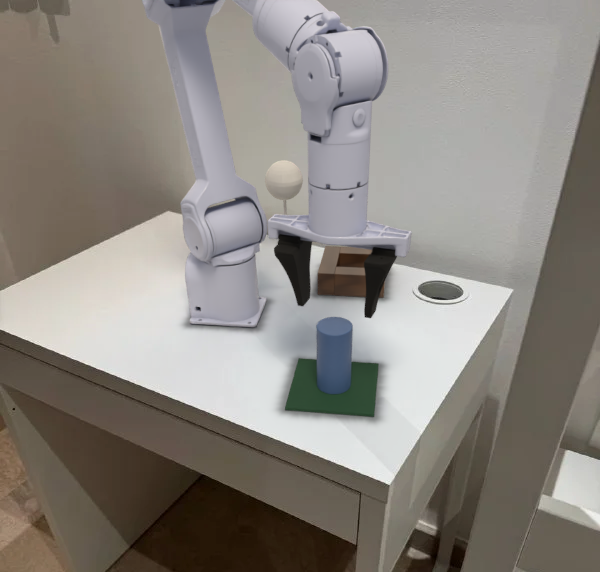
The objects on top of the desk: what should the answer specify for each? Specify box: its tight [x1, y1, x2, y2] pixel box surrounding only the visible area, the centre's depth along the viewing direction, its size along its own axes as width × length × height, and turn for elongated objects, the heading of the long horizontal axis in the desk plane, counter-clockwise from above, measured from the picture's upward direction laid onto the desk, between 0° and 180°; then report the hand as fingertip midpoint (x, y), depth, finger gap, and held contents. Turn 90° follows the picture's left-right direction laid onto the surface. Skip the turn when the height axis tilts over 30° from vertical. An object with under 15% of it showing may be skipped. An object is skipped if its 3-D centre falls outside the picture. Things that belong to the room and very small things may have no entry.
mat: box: [284, 357, 380, 418], centre depth 70 cm, size 10×10×1 cm
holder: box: [316, 245, 386, 299], centre depth 90 cm, size 10×10×4 cm
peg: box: [315, 316, 354, 394], centre depth 67 cm, size 4×4×8 cm
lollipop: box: [264, 159, 304, 215], centre depth 96 cm, size 6×6×15 cm
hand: (336, 307), depth 64 cm, fingers open, 7 cm apart
